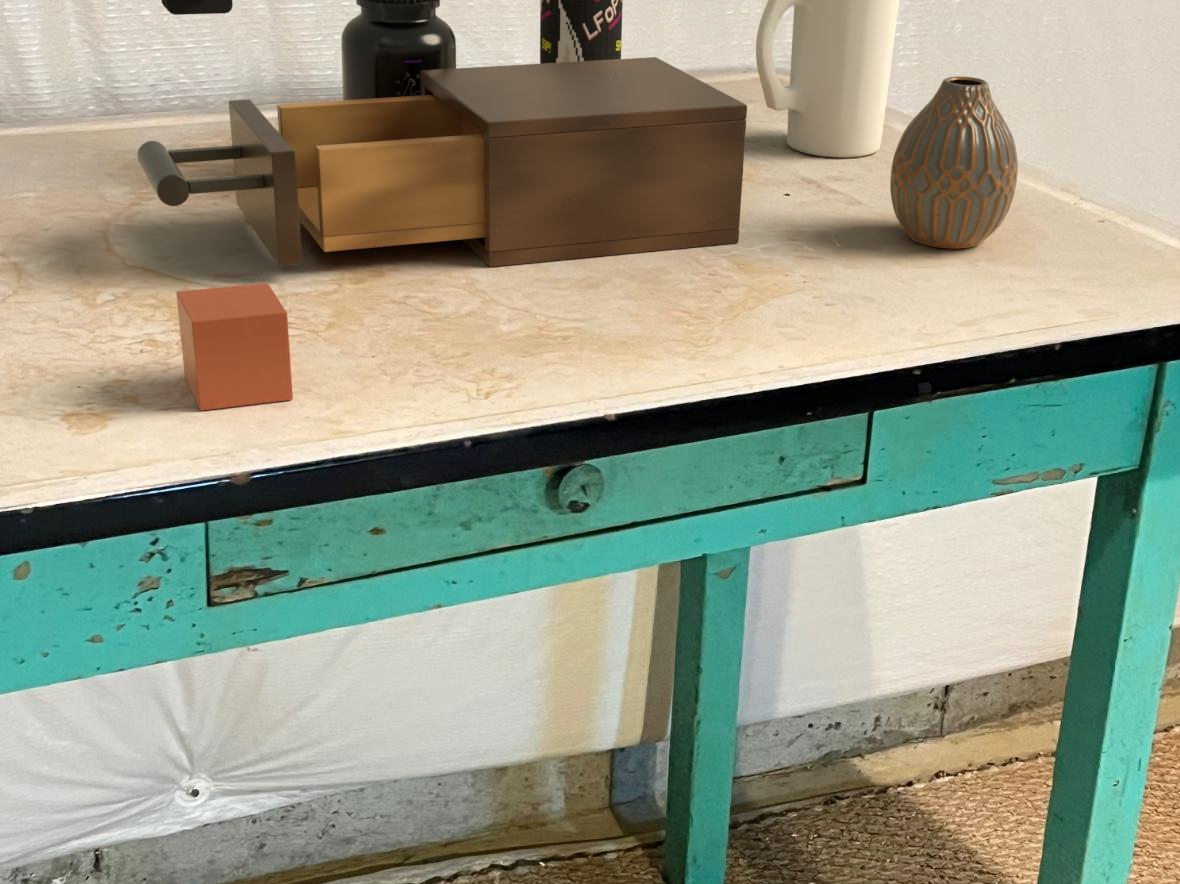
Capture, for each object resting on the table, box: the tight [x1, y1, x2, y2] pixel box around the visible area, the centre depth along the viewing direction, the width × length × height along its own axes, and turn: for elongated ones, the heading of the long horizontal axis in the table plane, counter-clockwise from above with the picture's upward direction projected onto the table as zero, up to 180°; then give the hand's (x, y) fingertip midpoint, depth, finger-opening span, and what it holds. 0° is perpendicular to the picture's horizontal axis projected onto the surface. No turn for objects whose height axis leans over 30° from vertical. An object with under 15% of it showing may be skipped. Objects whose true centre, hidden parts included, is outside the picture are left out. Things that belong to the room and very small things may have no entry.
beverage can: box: [539, 0, 624, 64], centre depth 119 cm, size 6×6×12 cm
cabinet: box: [420, 56, 748, 268], centre depth 95 cm, size 15×13×8 cm
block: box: [175, 282, 294, 411], centre depth 73 cm, size 4×4×4 cm
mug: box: [755, 0, 900, 158], centre depth 110 cm, size 10×7×12 cm, turn 118°
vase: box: [889, 75, 1019, 250], centre depth 94 cm, size 7×7×9 cm
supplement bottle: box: [341, 0, 457, 100], centre depth 102 cm, size 7×7×12 cm
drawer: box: [137, 95, 485, 267], centre depth 91 cm, size 19×11×6 cm, turn 111°
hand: (197, 10), depth 84 cm, fingers closed
